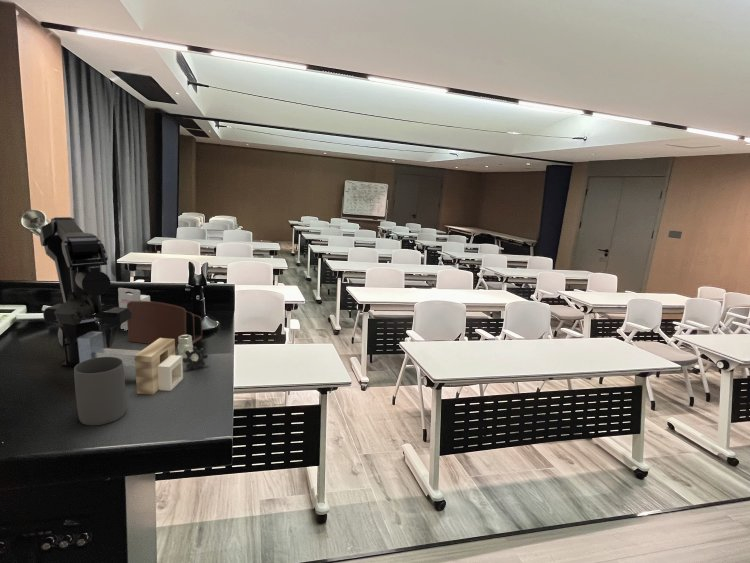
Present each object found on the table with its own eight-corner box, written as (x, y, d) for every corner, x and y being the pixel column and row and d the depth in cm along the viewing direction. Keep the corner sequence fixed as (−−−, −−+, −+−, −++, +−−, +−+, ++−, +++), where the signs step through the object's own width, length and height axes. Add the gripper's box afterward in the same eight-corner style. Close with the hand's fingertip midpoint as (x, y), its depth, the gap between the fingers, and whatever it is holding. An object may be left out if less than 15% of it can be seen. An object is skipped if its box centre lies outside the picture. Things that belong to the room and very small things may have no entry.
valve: (171, 357, 127) (183, 372, 118) (170, 336, 126) (182, 350, 117) (195, 352, 131) (208, 367, 122) (194, 332, 130) (207, 345, 121)
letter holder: (185, 349, 134) (184, 306, 131) (127, 342, 136) (124, 299, 133) (202, 338, 143) (201, 297, 140) (148, 332, 146) (145, 291, 143)
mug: (133, 416, 96) (129, 366, 93) (85, 431, 89) (80, 378, 87) (112, 393, 105) (108, 347, 102) (67, 405, 98) (62, 356, 95)
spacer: (158, 390, 108) (157, 366, 106) (171, 377, 115) (170, 355, 113) (170, 391, 108) (169, 366, 106) (183, 378, 115) (182, 355, 113)
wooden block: (137, 393, 105) (134, 355, 103) (161, 372, 117) (159, 337, 115) (153, 394, 105) (151, 356, 103) (176, 373, 117) (174, 338, 115)
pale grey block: (80, 371, 108) (77, 338, 106) (93, 363, 113) (90, 331, 111) (148, 376, 108) (146, 342, 106) (158, 367, 113) (156, 335, 111)
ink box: (152, 328, 149) (150, 286, 146) (142, 332, 144) (140, 290, 141) (130, 325, 150) (127, 284, 147) (120, 329, 146) (117, 287, 142)
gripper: (21, 292, 98) (29, 356, 101) (103, 297, 98) (108, 361, 101) (57, 281, 109) (63, 339, 112) (130, 286, 109) (134, 344, 112)
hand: (91, 346), depth 109 cm, fingers open, 9 cm apart
